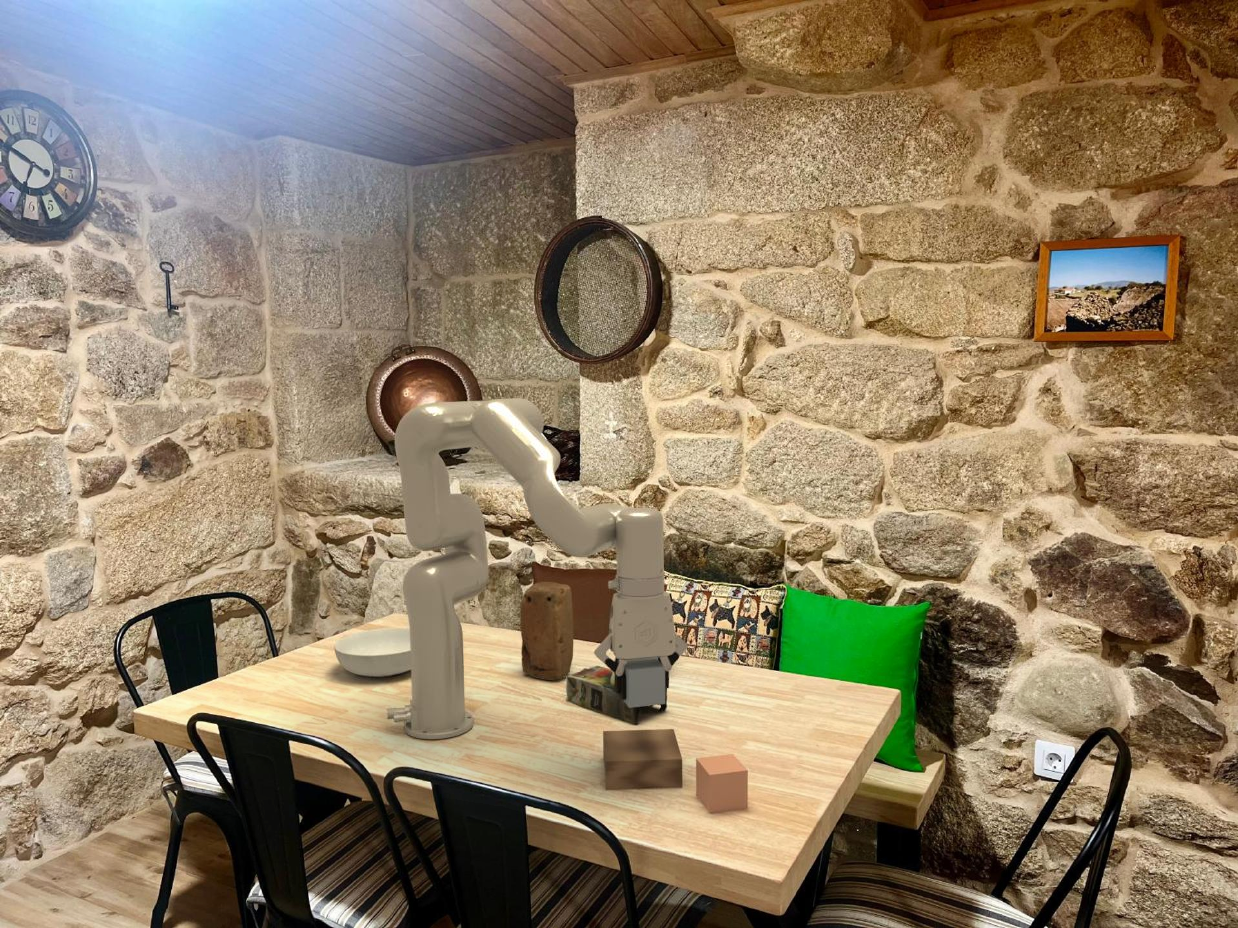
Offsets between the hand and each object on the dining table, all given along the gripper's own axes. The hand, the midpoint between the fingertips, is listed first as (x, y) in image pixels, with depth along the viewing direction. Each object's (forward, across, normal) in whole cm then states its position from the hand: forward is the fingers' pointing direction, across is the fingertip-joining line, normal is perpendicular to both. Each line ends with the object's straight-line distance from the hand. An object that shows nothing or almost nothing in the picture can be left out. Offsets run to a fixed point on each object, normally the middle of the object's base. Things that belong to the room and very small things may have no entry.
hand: (642, 693), depth 145 cm
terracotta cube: (+13, +9, -13) cm, 20 cm away
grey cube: (+1, 0, 0) cm, 1 cm away
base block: (+13, 0, 0) cm, 13 cm away
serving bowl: (+13, -41, +64) cm, 77 cm away
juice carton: (+14, +3, +30) cm, 33 cm away
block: (+13, -7, +51) cm, 53 cm away
